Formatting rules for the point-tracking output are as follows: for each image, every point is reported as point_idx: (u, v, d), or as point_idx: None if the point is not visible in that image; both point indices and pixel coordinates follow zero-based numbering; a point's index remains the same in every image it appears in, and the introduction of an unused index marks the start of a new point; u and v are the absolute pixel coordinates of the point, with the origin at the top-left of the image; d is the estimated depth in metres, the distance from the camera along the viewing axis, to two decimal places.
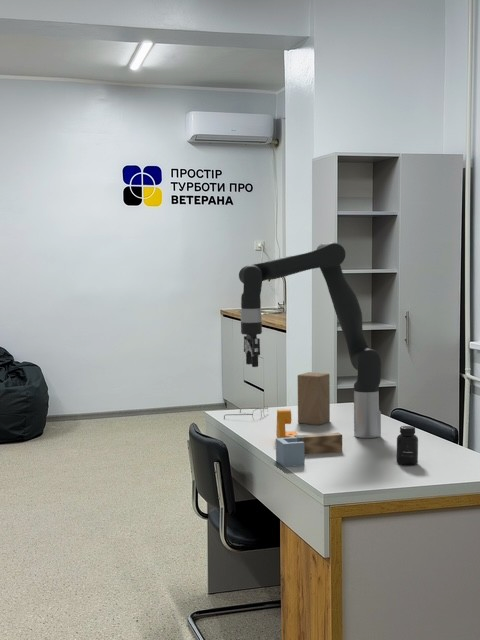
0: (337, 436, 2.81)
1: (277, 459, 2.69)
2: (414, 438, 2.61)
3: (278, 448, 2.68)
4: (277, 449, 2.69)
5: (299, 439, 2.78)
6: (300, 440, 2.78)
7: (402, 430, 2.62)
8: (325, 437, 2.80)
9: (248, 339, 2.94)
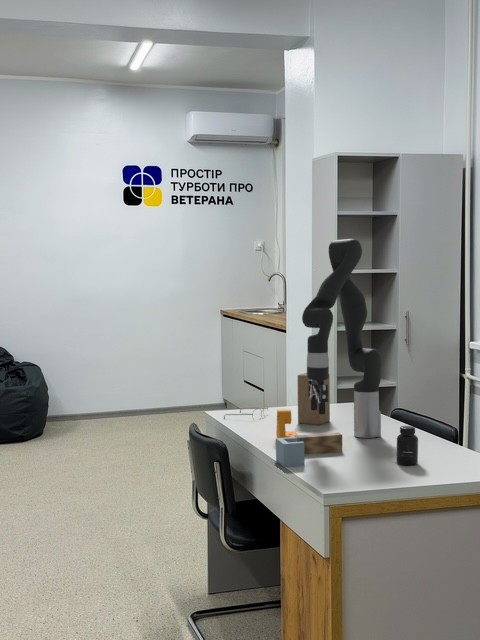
0: (337, 436, 2.81)
1: (277, 459, 2.69)
2: (414, 438, 2.61)
3: (278, 448, 2.68)
4: (277, 449, 2.69)
5: (299, 439, 2.78)
6: (300, 440, 2.78)
7: (402, 430, 2.62)
8: (325, 437, 2.80)
9: (314, 384, 2.81)
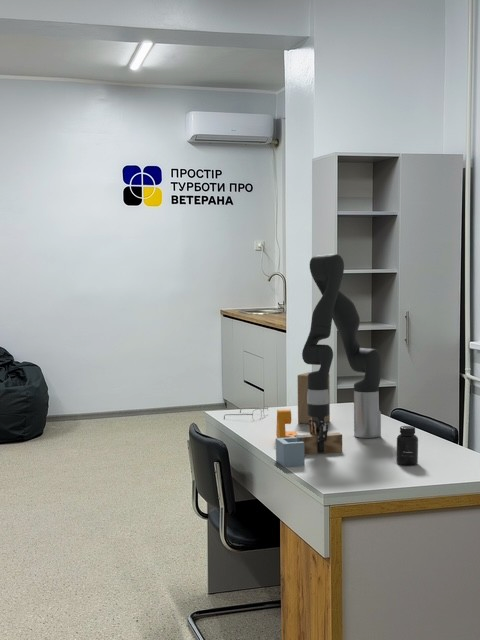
0: (337, 436, 2.81)
1: (277, 459, 2.69)
2: (414, 438, 2.61)
3: (278, 448, 2.68)
4: (277, 449, 2.69)
5: (299, 439, 2.78)
6: (300, 440, 2.78)
7: (402, 430, 2.62)
8: None
9: (314, 421, 2.82)
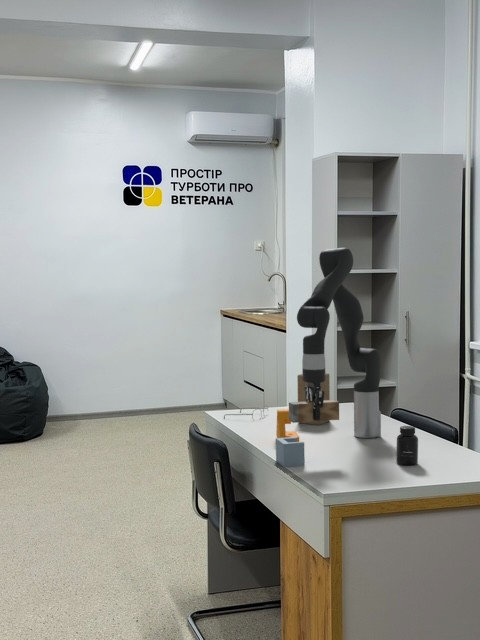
0: (334, 403, 2.68)
1: (277, 459, 2.69)
2: (414, 438, 2.61)
3: (278, 448, 2.68)
4: (277, 449, 2.69)
5: (294, 406, 2.64)
6: (295, 407, 2.64)
7: (402, 430, 2.62)
8: None
9: (310, 387, 2.68)
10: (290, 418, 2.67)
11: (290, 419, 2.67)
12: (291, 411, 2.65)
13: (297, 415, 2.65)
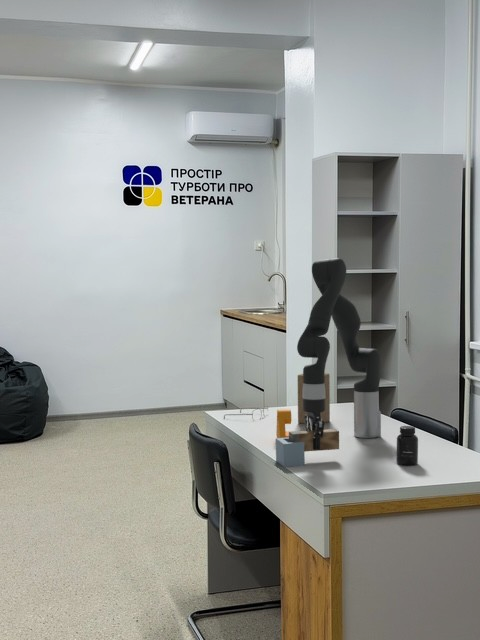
0: (334, 432, 2.68)
1: (277, 459, 2.69)
2: (414, 438, 2.61)
3: (278, 448, 2.68)
4: (277, 449, 2.69)
5: (294, 435, 2.65)
6: (295, 436, 2.65)
7: (402, 430, 2.62)
8: None
9: (310, 416, 2.68)
10: None
11: None
12: (291, 441, 2.66)
13: None
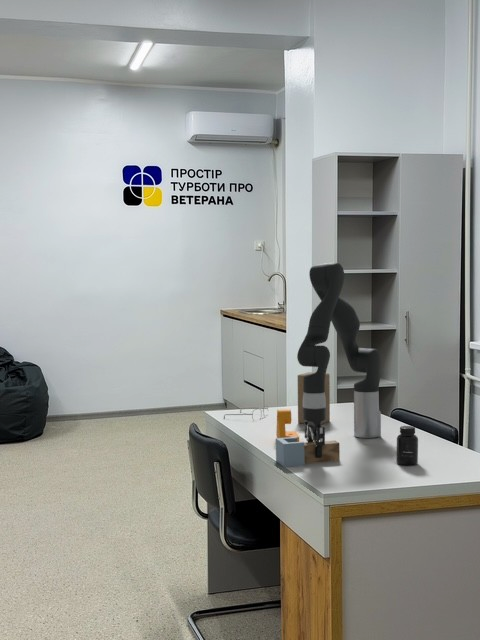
0: (334, 444, 2.69)
1: (277, 459, 2.69)
2: (414, 438, 2.61)
3: (278, 448, 2.68)
4: (277, 449, 2.69)
5: None
6: None
7: (402, 430, 2.62)
8: None
9: (310, 425, 2.69)
10: None
11: None
12: None
13: None
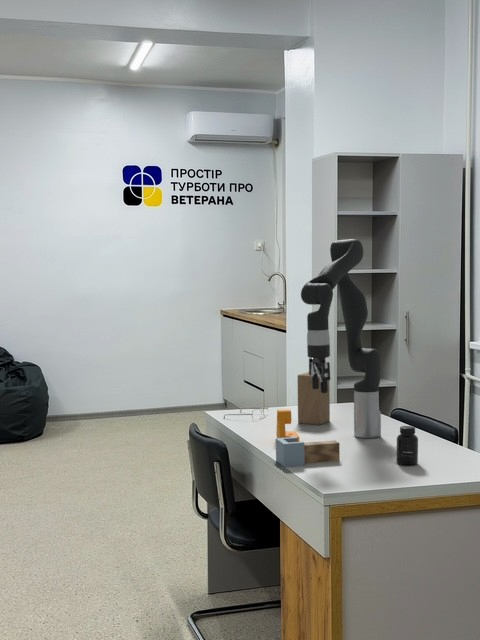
0: (334, 444, 2.69)
1: (277, 459, 2.69)
2: (414, 438, 2.61)
3: (278, 448, 2.68)
4: (277, 449, 2.69)
5: None
6: None
7: (402, 430, 2.62)
8: (321, 445, 2.68)
9: (315, 362, 2.73)
10: None
11: None
12: None
13: None
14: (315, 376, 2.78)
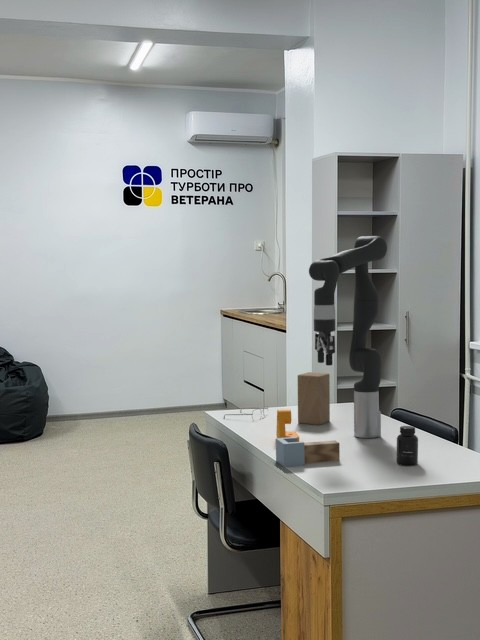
0: (334, 444, 2.69)
1: (277, 459, 2.69)
2: (414, 438, 2.61)
3: (278, 448, 2.68)
4: (277, 449, 2.69)
5: None
6: None
7: (402, 430, 2.62)
8: (321, 445, 2.68)
9: (321, 337, 2.84)
10: None
11: None
12: None
13: None
14: (321, 350, 2.89)
